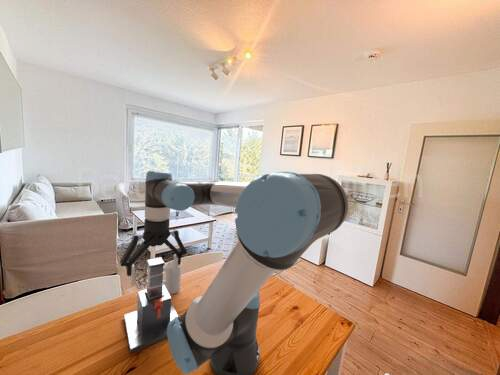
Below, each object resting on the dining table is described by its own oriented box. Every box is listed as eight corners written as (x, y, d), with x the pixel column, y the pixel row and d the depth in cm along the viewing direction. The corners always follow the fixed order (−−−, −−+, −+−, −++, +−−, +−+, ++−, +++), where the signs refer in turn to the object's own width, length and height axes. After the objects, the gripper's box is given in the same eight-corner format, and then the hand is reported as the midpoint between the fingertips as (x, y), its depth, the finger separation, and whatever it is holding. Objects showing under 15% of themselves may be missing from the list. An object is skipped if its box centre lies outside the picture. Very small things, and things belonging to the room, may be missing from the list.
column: (161, 322, 73) (164, 262, 70) (147, 327, 70) (149, 266, 67) (158, 313, 76) (161, 257, 73) (144, 318, 73) (146, 259, 70)
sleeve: (183, 331, 72) (185, 297, 70) (130, 353, 62) (131, 315, 60) (169, 303, 84) (171, 274, 83) (124, 318, 75) (124, 286, 73)
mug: (181, 285, 97) (183, 260, 95) (179, 294, 90) (180, 268, 89) (158, 285, 95) (159, 260, 93) (154, 294, 88) (155, 268, 87)
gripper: (190, 212, 79) (186, 264, 81) (110, 218, 64) (110, 282, 66) (198, 217, 73) (194, 274, 76) (112, 225, 58) (111, 296, 60)
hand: (154, 278), depth 71 cm, fingers open, 13 cm apart
